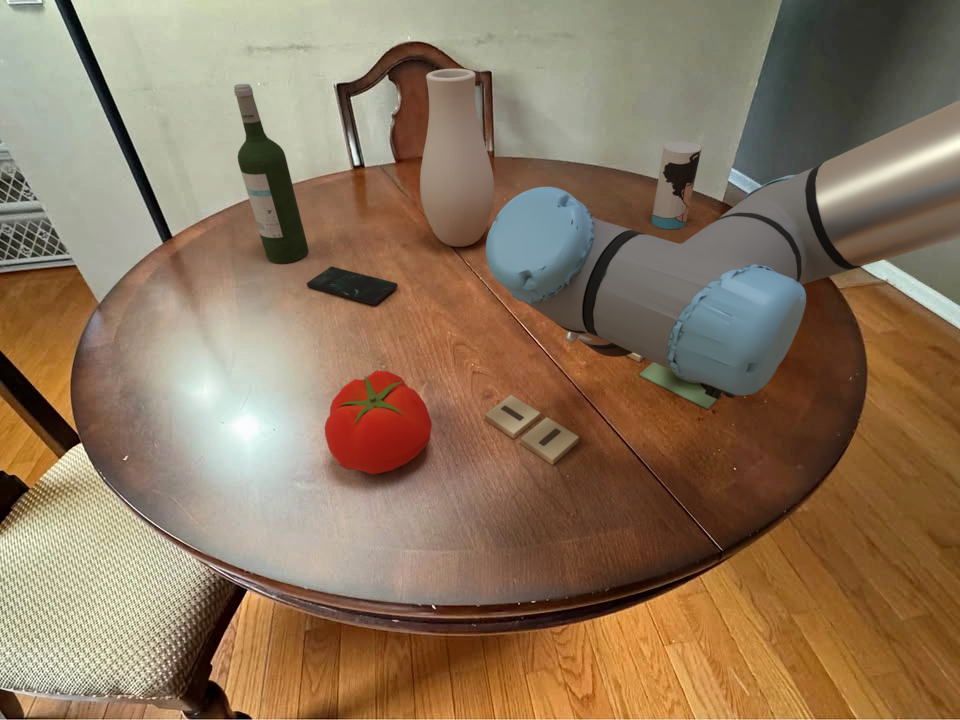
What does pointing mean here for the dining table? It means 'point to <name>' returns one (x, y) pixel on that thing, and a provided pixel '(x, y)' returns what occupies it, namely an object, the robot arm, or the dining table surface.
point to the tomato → (377, 424)
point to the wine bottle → (269, 186)
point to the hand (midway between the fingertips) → (666, 361)
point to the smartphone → (352, 285)
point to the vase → (455, 161)
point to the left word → (542, 438)
